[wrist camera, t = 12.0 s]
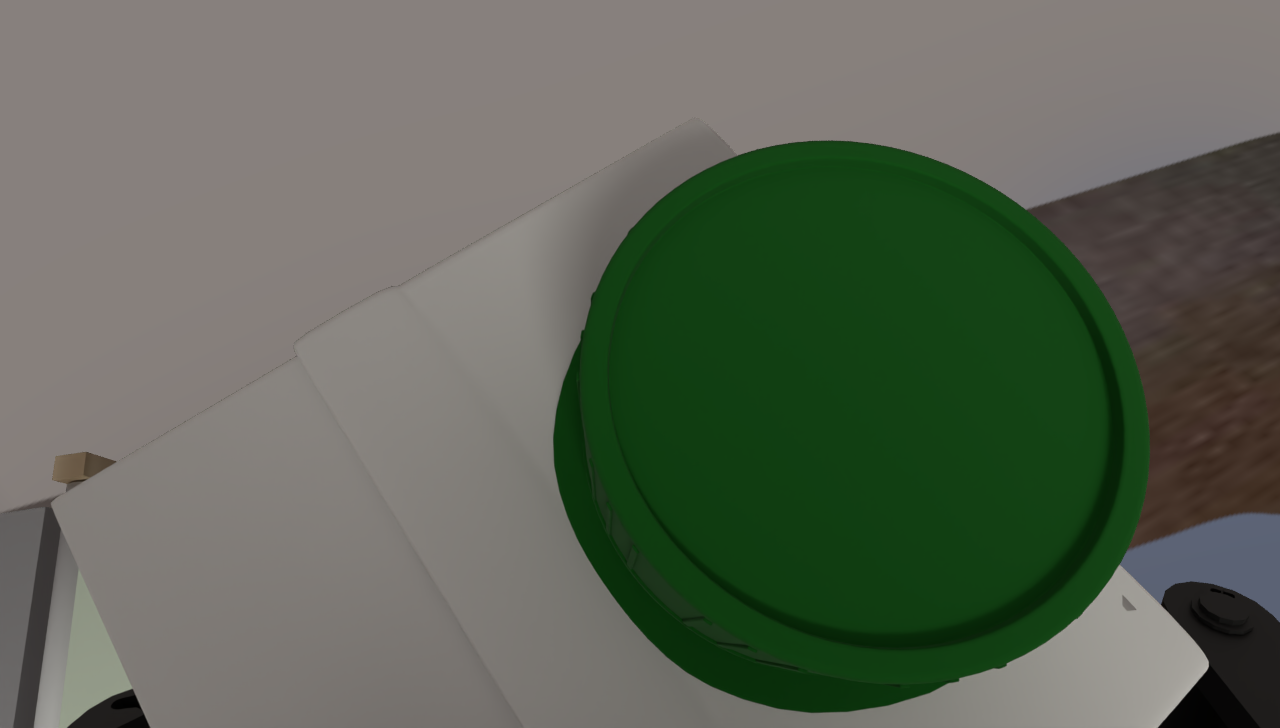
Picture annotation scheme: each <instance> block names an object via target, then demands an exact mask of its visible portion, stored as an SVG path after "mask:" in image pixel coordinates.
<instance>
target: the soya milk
mask: <svg viewBox="0 0 1280 728" xmlns="http://www.w3.org/2000/svg"><path fill="white" fill-rule="evenodd" d="M294 350H295V353H296V354H297V356H296V357H294V358H293V359H291V360H289V361H287V362H286V363H284V364H282V365H281V366H279V367H277V368H275V369H274V370H272V371H270V372H269V373H267V374H265V375H264V376H262V377H260V378H259V379H257V380H255V381H253V382H252V383H250V384H248V385H247V386H245V387H244V388H241V389H240V390H238V391H236V392H235V393H233V394H231V395H230V396H228V397H226V398H224V399H223V400H221V401H219V402H218V403H216V404H214V405H213V406H211V407H209V408H207V409H206V410H204V411H203V412H201V413H199V414H197V415H196V416H194V417H192V418H191V419H189V420H187V421H185V422H184V423H182V424H180V425H179V426H177V427H175V428H174V429H172V430H170V431H169V432H167V433H165V434H163V435H162V436H160V437H159V438H157V439H155V440H153V441H151V442H150V443H148V444H146V445H145V446H143V447H142V448H140V449H138V450H136V451H135V452H133V453H131V454H129V455H128V456H126V457H124V458H123V459H121V460H119V461H118V462H116V463H114V464H112V465H111V466H109V467H107V468H106V469H104V470H102V471H101V472H99V473H97V474H96V475H94V476H92V477H91V478H89V479H87V480H86V481H84V482H82V483H80V484H79V485H77V486H75V487H74V488H72V489H70V490H69V491H67V492H65V493H64V494H62V495H60V496H59V497H57V498H56V499H55V500H54V501H53V502H51V505H52V509H53V511H54V514H55V516H56V519H57V521H58V523H59V525H60V528H61V530H62V532H63V534H64V537H65V539H66V541H67V543H68V546H69V548H70V550H71V552H72V555H73V557H74V559H75V561H76V563H77V566H78V568H79V570H80V572H81V575H82V577H83V579H84V581H85V583H86V586H87V588H88V590H89V592H90V595H91V597H92V599H93V601H94V604H95V606H96V608H97V610H98V612H99V615H100V617H101V619H102V621H103V624H104V626H105V628H106V630H107V632H108V635H109V637H110V639H111V641H112V644H113V646H114V648H115V650H116V652H117V655H118V657H119V659H120V661H121V664H122V666H123V668H124V670H125V673H126V675H127V677H128V679H129V681H130V684H131V686H132V688H133V690H134V693H135V695H136V697H137V699H138V701H139V704H140V706H141V708H142V710H143V713H144V715H145V717H146V719H147V721H148V724H149V726H150V728H1158V727H1159V725H1160V724H1161V723H1162V722H1163V721H1164V720H1165V719H1166V718H1167V716H1168V715H1169V714H1170V713H1171V712H1172V711H1173V710H1174V708H1175V707H1176V706H1177V705H1178V704H1179V703H1180V701H1181V700H1182V699H1183V698H1184V697H1185V696H1186V694H1187V693H1188V692H1189V691H1190V690H1191V689H1192V687H1193V686H1194V685H1195V684H1196V683H1197V682H1198V680H1199V679H1200V678H1201V677H1202V676H1203V675H1204V673H1205V672H1206V671H1207V669H1208V667H1209V661H1208V659H1207V658H1206V656H1205V654H1204V653H1203V651H1202V650H1201V648H1200V647H1199V646H1198V645H1197V644H1196V642H1195V641H1194V640H1193V639H1192V638H1191V637H1190V635H1189V634H1188V633H1187V632H1186V631H1185V630H1184V629H1183V628H1182V627H1181V626H1180V625H1179V624H1178V622H1177V621H1176V620H1175V619H1174V618H1173V617H1172V616H1171V615H1170V614H1169V613H1168V612H1167V611H1166V610H1165V609H1164V608H1163V607H1162V606H1161V605H1160V604H1159V603H1158V602H1157V601H1156V600H1155V599H1154V598H1153V597H1152V596H1151V595H1150V594H1149V593H1148V592H1147V591H1146V590H1145V589H1144V588H1143V587H1142V586H1141V585H1140V584H1139V583H1138V582H1137V581H1136V580H1135V579H1134V578H1133V577H1132V576H1131V575H1130V574H1129V573H1128V572H1126V570H1125V569H1124V568H1123V567H1121V566H1120V563H1121V561H1122V559H1123V557H1124V555H1125V553H1126V551H1127V549H1128V547H1129V545H1130V542H1131V540H1132V538H1133V535H1134V532H1135V529H1136V527H1137V524H1138V521H1139V518H1140V514H1141V510H1142V506H1143V503H1144V499H1145V493H1146V487H1147V481H1148V472H1149V459H1150V434H1149V423H1148V413H1147V407H1146V401H1145V395H1144V390H1143V386H1142V382H1141V379H1140V375H1139V371H1138V368H1137V365H1136V362H1135V359H1134V356H1133V353H1132V350H1131V348H1130V345H1129V343H1128V341H1127V338H1126V336H1125V333H1124V331H1123V329H1122V327H1121V325H1120V323H1119V321H1118V319H1117V317H1116V315H1115V313H1114V311H1113V310H1112V308H1111V306H1110V305H1109V303H1108V301H1107V300H1106V298H1105V296H1104V294H1103V293H1102V291H1101V290H1100V289H1099V287H1098V286H1097V284H1096V283H1095V281H1094V280H1093V278H1092V277H1091V276H1090V274H1089V273H1088V272H1087V270H1086V269H1085V268H1084V267H1083V265H1082V264H1081V263H1080V262H1079V260H1078V259H1077V258H1076V257H1075V256H1074V255H1073V254H1072V252H1071V251H1070V250H1069V249H1068V248H1067V247H1066V246H1065V245H1064V244H1063V243H1062V242H1061V241H1060V240H1059V239H1058V238H1057V237H1056V236H1055V235H1054V234H1053V233H1052V232H1051V231H1050V230H1049V229H1048V228H1047V227H1046V226H1045V225H1043V224H1042V223H1041V222H1040V221H1039V220H1038V219H1037V218H1035V217H1034V216H1033V215H1032V214H1030V213H1029V212H1028V211H1027V210H1025V209H1024V208H1023V207H1021V206H1020V205H1019V204H1017V203H1016V202H1014V201H1013V200H1012V199H1010V198H1009V197H1007V196H1006V195H1004V194H1003V193H1001V192H1000V191H998V190H996V189H995V188H993V187H991V186H990V185H988V184H986V183H984V182H983V181H981V180H979V179H977V178H975V177H973V176H971V175H969V174H967V173H965V172H963V171H961V170H959V169H956V168H954V167H952V166H949V165H947V164H944V163H942V162H939V161H936V160H934V159H931V158H928V157H925V156H922V155H918V154H915V153H912V152H908V151H905V150H900V149H896V148H892V147H887V146H881V145H876V144H869V143H859V142H851V141H807V142H795V143H788V144H782V145H775V146H771V147H766V148H762V149H757V150H755V151H751V152H748V153H744V154H741V155H738V156H737V154H736V153H735V152H734V151H733V150H732V149H731V148H730V146H729V145H728V144H727V143H726V142H725V141H724V140H723V139H722V138H721V137H720V136H719V135H718V134H717V133H716V132H715V131H714V130H713V129H712V128H711V127H710V126H709V125H708V124H706V123H705V122H704V121H703V120H701V119H699V118H693V119H691V120H689V121H687V122H685V123H684V124H682V125H680V126H678V127H676V128H675V129H673V130H671V131H669V132H667V133H666V134H664V135H662V136H660V137H659V138H657V139H655V140H653V141H651V142H650V143H648V144H646V145H644V146H643V147H641V148H639V149H637V150H635V151H634V152H632V153H630V154H628V155H627V156H625V157H623V158H622V159H620V160H618V161H616V162H615V163H613V164H611V165H609V166H608V167H606V168H604V169H602V170H601V171H599V172H597V173H595V174H593V175H592V176H590V177H588V178H586V179H585V180H583V181H582V182H579V183H578V184H576V185H574V186H572V187H571V188H569V189H567V190H565V191H564V192H562V193H560V194H558V195H557V196H555V197H553V198H551V199H550V200H548V201H546V202H544V203H542V204H541V205H539V206H537V207H536V208H534V209H532V210H530V211H528V212H527V213H525V214H523V215H521V216H520V217H518V218H516V219H514V220H513V221H511V222H509V223H507V224H506V225H504V226H502V227H500V228H498V229H497V230H495V231H493V232H491V233H490V234H488V235H486V236H484V237H483V238H481V239H479V240H478V241H476V242H474V243H472V244H471V245H469V246H467V247H465V248H463V249H462V250H460V251H458V252H456V253H455V254H453V255H451V256H449V257H448V258H446V259H444V260H442V261H441V262H439V263H437V264H436V265H434V266H432V267H430V268H428V269H427V270H425V271H424V272H422V273H420V274H418V275H416V276H415V277H413V278H411V279H410V280H408V281H406V282H405V283H403V284H401V285H399V286H391V287H389V288H386V289H384V290H382V291H379V292H377V293H375V294H373V295H371V296H369V297H368V298H366V299H364V300H362V301H361V302H359V303H357V304H355V305H353V306H351V307H350V308H348V309H346V310H344V311H342V312H341V313H339V314H337V315H336V316H334V317H333V318H331V319H329V320H327V321H326V322H324V323H322V324H321V325H320V326H318V327H316V328H314V329H313V330H311V331H309V332H308V333H306V334H305V335H304V336H302V337H301V338H300V339H298V340H297V341H296V342H295V343H294Z"/></svg>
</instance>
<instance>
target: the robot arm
mask: <svg viewBox="0 0 1280 728" xmlns="http://www.w3.org/2000/svg"><path fill="white" fill-rule="evenodd" d="M1161 606H1162V607H1163V608H1164V609H1165V610H1166V611H1167V612H1168V613H1169V614H1170V615H1171V616H1172V617H1173V618H1174V619H1175V620H1176V621H1177V622H1178V624H1179V625H1180V626H1181V627H1182V628H1183V629H1184V630H1185V631H1186V632H1187V633H1188V634H1189V635H1190V637H1191V638H1192V639H1193V640H1194V641H1195V642H1196V644H1197V645H1198V646H1199V647H1200V648H1201V650H1202V651H1203V653H1204V654H1205V656H1206V658H1207V659H1208V661H1209V667H1208V669H1207V671H1206V672H1205V673H1204V675H1203V676H1202V677H1201V678H1200V679H1199V680H1198V682H1197V683H1196V684H1195V685H1194V686H1193V687H1192V689H1191V690H1190V691H1189V692H1188V693H1187V694H1186V696H1185V697H1184V698H1183V699H1182V700H1181V701H1180V703H1179V704H1178V705H1177V706H1176V707H1175V708H1174V710H1173V711H1172V712H1171V713H1170V714H1169V715H1168V716H1167V718H1166V719H1165V720H1164V721H1163V722H1162V723H1161V724H1160V725H1159V727H1158V728H1280V622H1278V620H1277V619H1276V618H1275V617H1274V616H1273V615H1272V614H1270V613H1269V612H1268V611H1267V610H1265V609H1264V608H1263V607H1261V606H1260V605H1259V604H1258V603H1257V602H1255V601H1253V600H1251V599H1249V598H1247V597H1245V596H1243V595H1241V594H1239V593H1237V592H1235V591H1233V590H1230V589H1226V588H1223V587H1220V586H1217V585H1214V584H1208V583H1199V582H1186V583H1178V584H1175V585H1173V586H1171V587H1170V588H1169V589H1167V590H1166V591H1165V594H1164V597H1163V600H1162V604H1161ZM67 728H150V726H149V724H148V721H147V719H146V717H145V715H144V713H143V710H142V708H141V706H140V704H139V701H138V699H137V697H136V695H135V693H134V690H133V689H130V690H127V691H124V692H122V693H119V694H116V695H113V696H111V697H109V698H107V699H106V700H104V701H102V702H100V703H99V704H97V705H95V706H93V707H92V708H90V709H88V710H87V711H86V712H85V713H84V714H82V715H81V716H80V717H79V718H78V719H76V720H75V721H74V722H73V723H71V724H70V725H69V726H68V727H67Z"/></svg>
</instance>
